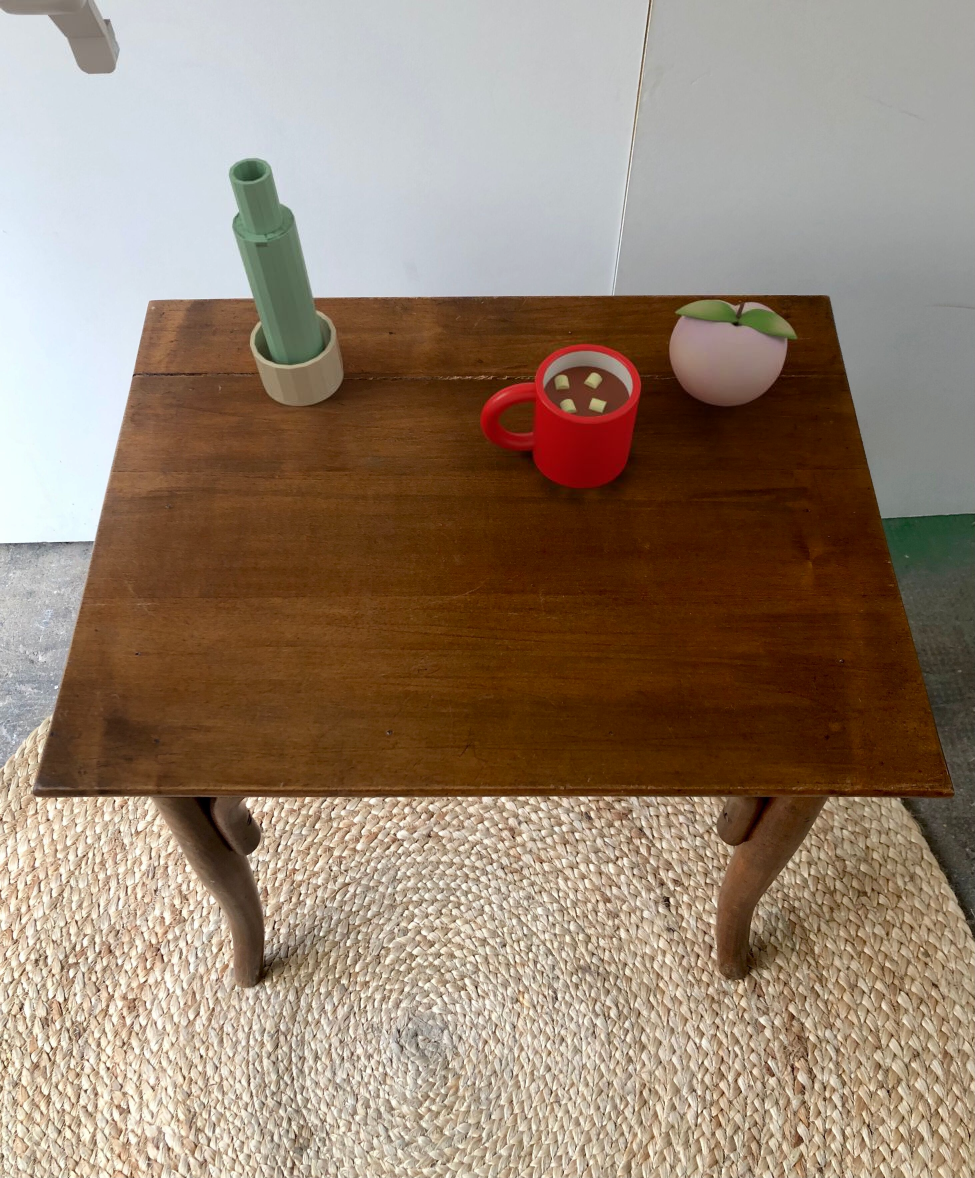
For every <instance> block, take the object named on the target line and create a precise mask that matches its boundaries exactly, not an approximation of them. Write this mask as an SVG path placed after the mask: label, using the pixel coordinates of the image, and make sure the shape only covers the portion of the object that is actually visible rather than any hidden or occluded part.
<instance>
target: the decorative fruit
mask: <svg viewBox="0 0 975 1178" xmlns="http://www.w3.org/2000/svg"><path fill="white" fill-rule="evenodd" d="M674 314H676V315H679V316H680V317H679V319H678V321H677V322H676V324H675V326H674V328H673V330H672V333H671V336H670V341H669V349H668V350H669V360H670V364H671V367H672V371H673V373H674V375H675V377H676V379H677V381H678V382H679V384H680V386H681V387H682V388H683V389H684V391H685V392H687V394H689V395H690V396H691V397H693V398H694V399H696V400H699V401H700V402H702V403H706V404H709V405H713V406H718V407H734V406H735V407H736V406H741V405H744V404H747V403H750V402H751V401H753V400H755V399H758V398H759V397H760V396H762V395H763V394H765V393H766V392H767V391H768V389H769V388H771V386H772V385H773V384H774V383H775V382H776V380H777V379H778V377H779V376H780V374H781V372H782V370H783V366H784V364H785V361H786V356H787V351H788V340H797V339H798V336H797V334H796V332H795V329H793V327H792V326H791V325H790V323H789V322H788V321H786V320H785V319H784V318H783V317H782V316H781V315H779V314H777V313H776V312H775V311H773V310H772V309H771V308H769V306H766V305H764V304H762V303H760V302H756V301H755V302H754V301H749V302H745V301H740V303H739V304H737V305H733V304H732V303H729V302H727V301H724V300H720V299H702V300H696V301H694V302H691V303H688V304H685V305H683V306H682V307H680V308H679V309H677V310H676V311H674Z"/></svg>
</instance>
